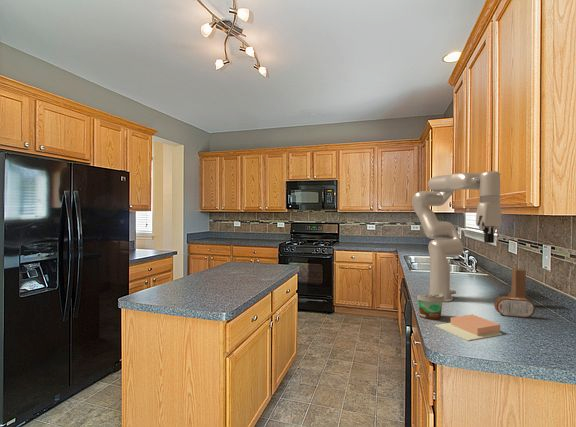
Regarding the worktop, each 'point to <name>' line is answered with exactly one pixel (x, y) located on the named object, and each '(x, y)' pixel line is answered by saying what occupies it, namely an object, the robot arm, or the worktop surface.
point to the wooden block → (518, 283)
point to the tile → (475, 324)
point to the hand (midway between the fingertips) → (488, 242)
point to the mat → (464, 332)
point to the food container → (430, 306)
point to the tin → (514, 307)
